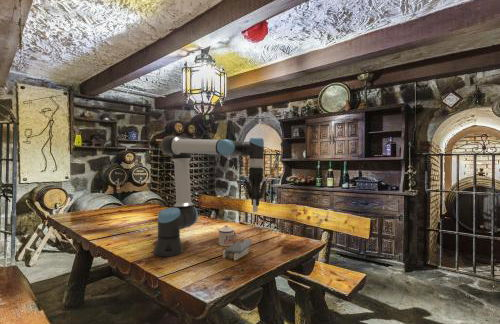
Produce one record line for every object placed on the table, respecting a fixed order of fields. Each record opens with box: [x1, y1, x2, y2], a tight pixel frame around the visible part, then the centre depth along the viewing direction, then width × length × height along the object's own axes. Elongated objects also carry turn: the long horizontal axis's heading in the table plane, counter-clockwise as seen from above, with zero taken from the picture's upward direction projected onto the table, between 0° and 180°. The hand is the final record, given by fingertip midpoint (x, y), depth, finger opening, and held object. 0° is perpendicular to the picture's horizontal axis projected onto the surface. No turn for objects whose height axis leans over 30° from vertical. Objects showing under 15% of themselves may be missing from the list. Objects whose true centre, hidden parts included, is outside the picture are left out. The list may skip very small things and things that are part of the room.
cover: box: [224, 237, 253, 254], centre depth 150 cm, size 9×18×4 cm, turn 159°
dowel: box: [227, 252, 234, 260], centre depth 147 cm, size 9×3×3 cm, turn 151°
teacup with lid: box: [218, 224, 237, 247], centre depth 168 cm, size 12×9×12 cm
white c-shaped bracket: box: [222, 246, 250, 261], centre depth 150 cm, size 8×17×4 cm, turn 151°
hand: (255, 211), depth 146 cm, fingers closed
